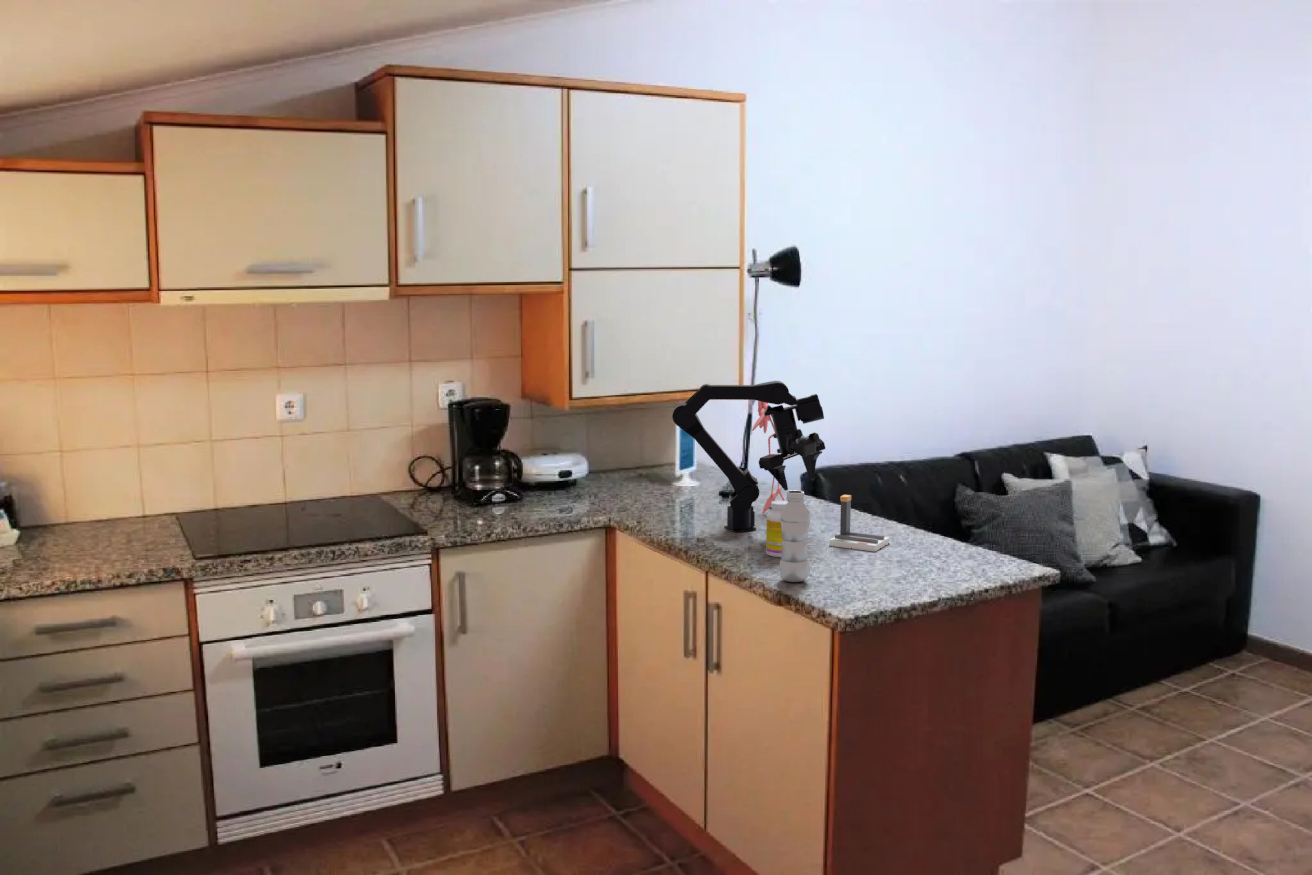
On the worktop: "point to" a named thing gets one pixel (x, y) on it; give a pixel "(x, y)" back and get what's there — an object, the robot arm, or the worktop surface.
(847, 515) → the handle
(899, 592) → the worktop surface
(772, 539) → the supplement bottle
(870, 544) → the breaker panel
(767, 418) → the figurine
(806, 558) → the plastic bottle
